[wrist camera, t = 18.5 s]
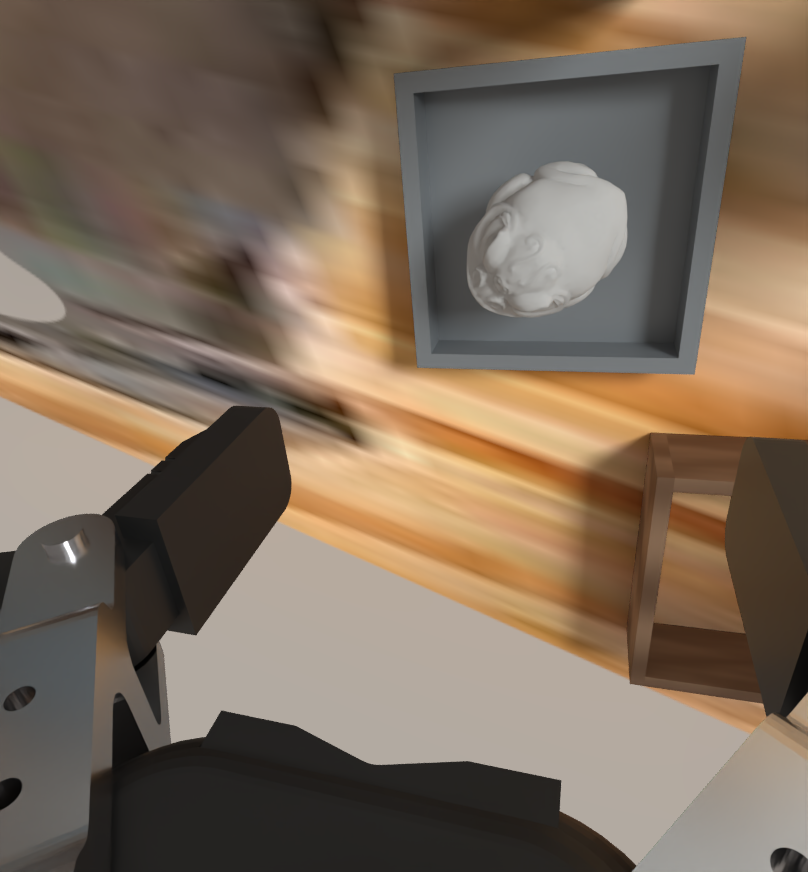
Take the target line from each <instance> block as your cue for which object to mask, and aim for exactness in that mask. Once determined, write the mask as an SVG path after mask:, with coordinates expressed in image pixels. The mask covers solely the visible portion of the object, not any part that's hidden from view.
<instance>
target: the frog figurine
mask: <svg viewBox="0 0 808 872" xmlns="http://www.w3.org/2000/svg"><path fill="white" fill-rule="evenodd" d="M627 218H628V217H627V203H626V198H625V193H624V192H623V191H622V190H621V189H619V188H618V187H616V186H615V185H613V184H612V183H610V182H609V181H606V180H603V179H601V178H598V177H597V175H596V173H595V172H594V171H593V170H592V169H590V168H589V167H587V166H586V165H584V164H581V163H573V162H569V161H559V162H553V163H549V164H546V165H543V166H541V167H539V168H538V169H537V170H536V171H535V173H534V176H531V175H528V174H525V173H520V174H518V175H516V176H514V177H513V178H511V179H510V180H508V181H506V182H505V183H504V184H502V185H501V186H500V187H499V188H498V190H497V191H496V192H495V193H494V194H493V195H492V197H491V199H490V200H489V203H488V206H487V208H486V214H485V215H484V216H483V218H482V219H481V221H479V223H478V224H477V225H476V227H475V229H474V231H473V232H472V234H471V236H470V238H469V243H468V249H467V281H468V286H469V289H470V291H471V293H472V295H473V296H474V298H475V299H476V301H477V302H478V303H479V304H480V305H481V306H482V307H483V308H485V309H487V310H489V311H491V312H494V313H497V314H499V315H505V316H509V317H516V318H517V317H531V318H532V317H541V316H545V315H550V314H553V313H557V312H559V311H561V310H562V309H563V308H567V307H570V306H573V305H575V304H576V303H578V302H580V301H582V300H584V299H585V298H586V297H587V296H588V295H589V294H590V293H591V292H592V291H593V289H594V287H595V285H596V284H597V282H598V281H600V279H604V278H606V277H607V276H608V275H609V274H610V272H611V271H612V269H613V268H614V267H615V266H616V265H617V263H618V262H619V261H620V259H621V258H622V256H623V253H624V251H625V248H626V244H627Z"/></svg>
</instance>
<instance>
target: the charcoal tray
mask: <svg viewBox="0 0 808 872" xmlns="http://www.w3.org/2000/svg"><path fill="white" fill-rule="evenodd" d="M745 42H746V37H741V38H731V39H722V40H712V41H702V42H693V43H683V44H674V45H664V46H654V47H645V48H635V49H625V50H616V51H606V52H597V53H587V54H577V55H568V56H558V57H549V58H539V59H529V60H520V61H510V62H500V63H491V64H481V65H472V66H462V67H452V68H443V69H433V70H424V71H414V72H404V73H395V74H394V83H395V95H396V108H397V120H398V133H399V145H400V158H401V170H402V182H403V195H404V207H405V220H406V232H407V245H408V257H409V270H410V282H411V294H412V307H413V319H414V332H415V344H416V357H417V368H453V369H493V370H534V371H575V372H615V373H656V374H695V368H696V361H697V355H698V348H699V342H700V335H701V329H702V322H703V316H704V309H705V303H706V296H707V290H708V283H709V277H710V270H711V264H712V257H713V251H714V244H715V238H716V231H717V225H718V218H719V212H720V205H721V199H722V192H723V186H724V179H725V173H726V166H727V160H728V153H729V147H730V140H731V134H732V127H733V121H734V114H735V108H736V101H737V95H738V88H739V82H740V75H741V68H742V62H743V55H744V49H745ZM559 161H569V162H573V163H581V164H584V165H586V166H587V167H589V168H590V169H592V170H593V171H594V172H595V173H596V175H597V177H598V178H601V179H603V180H606V181H609V182H610V183H612V184H613V185H615V186H616V187H618V188H619V189H621V190H622V191H623V192H624V193H625V198H626V203H627V217H628V218H627V244H626V248H625V251H624V253H623V256H622V258H621V259H620V261H619V262H618V263H617V265H616V266H615V267H614V268H613V269H612V271H611V272H610V274H609V275H608V276H607V277H606V278H604V279H600V281H598V282H597V284H596V285H595V287H594V289H593V291H592V292H591V293H590V294H589V295H588V296H587V297H586V298H585V299H584V300H582V301H580V302H578V303H576V304H575V305H573V306H570V307H567V308H563V309H562V310H561V311H559V312H557V313H553V314H550V315H545V316H541V317H532V318H531V317H517V318H516V317H509V316H505V315H499V314H497V313H494V312H491V311H489V310H487V309H485V308H483V307H482V306H481V305H480V304H479V303H478V302H477V301H476V299H475V298H474V296H473V295H472V293H471V291H470V289H469V286H468V281H467V249H468V243H469V238H470V236H471V234H472V232H473V231H474V229H475V227H476V225H477V224H478V223H479V221H481V219H482V218H483V216H484V215H485V214H486V208H487V206H488V203H489V200H490V199H491V197H492V195H493V194H494V193H495V192H496V191H497V190H498V188H499V187H500V186H501V185H502V184H504V183H505V182H506V181H508V180H510V179H511V178H513V177H514V176H516V175H518V174H520V173H525V174H528V175H531V176H534V173H535V171H536V170H537V169H538V168H539V167H541V166H543V165H546V164H549V163H553V162H559Z"/></svg>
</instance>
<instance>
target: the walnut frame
mask: <svg viewBox="0 0 808 872" xmlns="http://www.w3.org/2000/svg"><path fill="white" fill-rule="evenodd" d="M747 438H748V437H728V436H707V435H686V434H666V433H651V434H650V442H649V450H648V458H647V467H646V475H645V483H644V491H643V499H642V507H641V516H640V524H639V532H638V540H637V548H636V556H635V565H634V573H633V581H632V589H631V597H630V605H629V614H628V622H627V643H628V660H629V677H630V684H635V685H642V686H648V687H655V688H662V689H669V690H675V691H682V692H689V693H696V694H702V695H709V696H716V697H723V698H729V699H736V700H743V701H750V702H756V703H763V700H762V696H761V692H760V688H759V684H758V680H757V676H756V672H755V668H754V665H753V661H752V657H751V653H750V649H749V645H748V641H747V637H746V634H739V633H731V632H723V631H715V630H706V629H698V628H690V627H682V626H674V625H666V624H658V623H653V622H654V615H655V608H656V602H657V595H658V588H659V582H660V575H661V568H662V562H663V555H664V548H665V542H666V535H667V529H668V522H669V515H670V509H671V502H672V495H673V492H682V493H697V494H711V495H725V496H732V492H733V487H734V483H735V478H736V474H737V469H738V465H739V460H740V456H741V451H742V448H743V445H744V442H745V441H746V439H747ZM804 441H805V442H806V443H807V445H808V440H804Z"/></svg>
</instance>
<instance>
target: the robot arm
mask: <svg viewBox="0 0 808 872" xmlns="http://www.w3.org/2000/svg"><path fill="white" fill-rule="evenodd" d="M290 494H291V475H290V470H289V465H288V460H287V455H286V450H285V445H284V440H283V435H282V430H281V425H280V420H279V417H278V415H277V413H276V411H275V410H274V409H272V408H266V407H249V406H233V407H231V408H229V409H228V410H227V411H226V412H225V413H224V414H223V415H222V416H221V417H220V418H219V419H217V420H216V421H215V422H214V423H213V424H212V425H211V426H210V427H209V428H208V429H206V430H204V431H202V432H200V433H199V434H197V435H195V436H193V437H191V438H189V439H187V440H185V441H183V442H182V443H181V444H180V445H179V446H178V447H176V448H175V449H174V450H173V451H172V452H171V453H170V454H169V455H168V456H166V457H165V461H161V462H160V463H159V464H158V465H157V466H155V467H154V468H153V469H152V470H151V474H147V475H146V476H144V477H143V478H142V479H141V480H140V481H139V482H138V483H137V484H136V485H134V486H133V487H132V488H131V489H130V490H129V491H128V492H127V493H126V494H124V495H123V496H122V497H121V498H120V499H119V500H118V501H117V502H116V503H114V504H113V505H112V506H111V507H110V508H109V509H108V510H107V511H106V512H105V513H104V514H102V515H99V514H81V515H75V516H70V517H66V518H63V519H60V520H57V521H55V522H53V523H50V524H48V525H46V526H44V527H42V528H40V529H39V530H37V531H35V532H34V533H33V534H31V535H30V536H29V537H27V538H26V539H25V540H24V541H23V542H22V543H21V544H20V545H19V547H18V548H17V550H16V551H11V552H2V553H0V872H808V445H807V443H806V442H805V441H804V440H794V439H777V438H760V437H748V438H747V439H746V441H745V442H744V445H743V448H742V451H741V456H740V460H739V465H738V469H737V474H736V478H735V483H734V487H733V492H732V496H731V501H730V506H729V510H728V515H727V520H726V528H725V550H726V557H727V561H728V565H729V569H730V573H731V577H732V581H733V585H734V589H735V593H736V597H737V601H738V605H739V609H740V613H741V617H742V621H743V625H744V629H745V633H746V637H747V641H748V645H749V649H750V653H751V657H752V661H753V665H754V668H755V672H756V676H757V680H758V684H759V688H760V692H761V696H762V700H763V704H764V708H765V712H766V716H767V718H765V719H764V720H763V721H762V722H761V723H760V725H759V726H758V727H757V728H756V729H755V730H754V731H753V733H752V734H751V735H750V736H749V738H748V739H746V741H745V742H744V743H743V744H742V745H741V747H740V748H739V749H738V750H737V751H736V752H735V753H734V754H733V756H732V757H731V758H730V759H729V760H728V761H727V763H726V764H725V765H724V766H723V767H722V768H721V769H720V771H719V772H718V773H717V774H716V775H715V777H714V778H713V779H712V780H711V781H710V782H709V783H708V784H707V786H706V787H705V788H704V789H703V790H702V791H701V793H700V794H699V795H698V796H697V797H696V798H695V800H694V801H693V802H692V803H691V804H690V805H689V806H688V807H687V809H686V810H685V811H684V812H683V813H682V814H681V816H680V817H679V818H678V819H677V820H676V821H675V823H674V824H673V825H672V826H671V827H670V828H669V829H668V831H667V832H666V833H665V834H664V835H663V836H662V838H661V839H660V840H659V841H658V842H657V843H656V844H655V846H654V847H653V848H652V849H651V850H650V851H649V852H648V854H647V855H646V856H645V857H644V858H643V859H642V861H641V862H640V863H639V864H638V865H637V866H636V865H635V864H634V863H633V862H632V861H631V860H630V859H629V858H628V857H627V856H626V855H625V854H624V853H623V852H622V851H620V850H619V849H618V848H617V847H615V846H614V845H613V844H612V843H610V842H609V841H608V840H607V839H605V838H604V837H603V836H602V835H600V834H598V833H597V832H595V831H594V830H592V829H591V828H589V827H588V826H586V825H585V824H583V823H581V822H580V821H578V820H576V819H574V818H572V817H570V816H568V815H566V814H564V813H562V812H560V811H559V810H560V792H561V780H556V779H551V778H546V777H542V776H537V775H532V774H527V773H522V772H517V771H512V770H508V769H503V768H498V767H493V766H488V765H483V764H478V763H474V762H468V761H466V762H464V761H463V762H440V763H417V764H396V765H395V764H394V765H373V764H369V763H366V762H364V761H362V760H360V759H358V758H356V757H354V756H352V755H350V754H348V753H346V752H344V751H342V750H340V749H338V748H337V747H335V746H333V745H331V744H329V743H327V742H325V741H323V740H322V739H320V738H318V737H316V736H314V735H312V734H310V733H308V732H306V731H304V730H303V729H301V728H299V727H297V726H294V725H289V724H284V723H279V722H274V721H269V720H264V719H259V718H254V717H249V716H245V715H240V714H235V713H231V712H226V711H221V712H220V714H219V716H218V717H217V719H216V721H215V722H214V724H213V726H212V727H211V729H210V731H209V733H208V734H207V736H206V737H202V738H196V739H190V740H184V741H179V742H176V743H172V744H171V738H170V725H169V713H168V700H167V689H166V677H165V663H164V654H163V650H162V647H161V645H160V642H159V640H160V639H161V638H162V636H163V635H164V634H165V632H166V631H167V630H169V631H174V632H180V633H185V634H191V635H197V633H198V632H199V630H200V629H201V628H202V626H203V625H204V623H205V622H206V621H207V619H208V618H209V616H210V615H211V613H212V612H213V611H214V609H215V608H216V606H217V605H218V604H219V602H220V601H221V599H222V598H223V596H224V595H225V594H226V592H227V591H228V589H229V588H230V587H231V585H232V584H233V582H234V581H235V580H236V578H237V577H238V575H239V574H240V573H241V571H242V570H243V568H244V567H245V565H246V564H247V563H248V561H249V560H250V559H251V557H252V556H253V554H254V553H255V551H256V550H257V549H258V547H259V546H260V544H261V543H262V541H263V540H264V539H265V537H266V536H267V535H268V533H269V532H270V530H271V529H272V527H273V526H274V525H275V523H276V522H277V520H278V519H279V518H280V516H281V515H282V513H283V512H284V511H285V509H286V507H287V505H288V502H289V499H290Z"/></svg>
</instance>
